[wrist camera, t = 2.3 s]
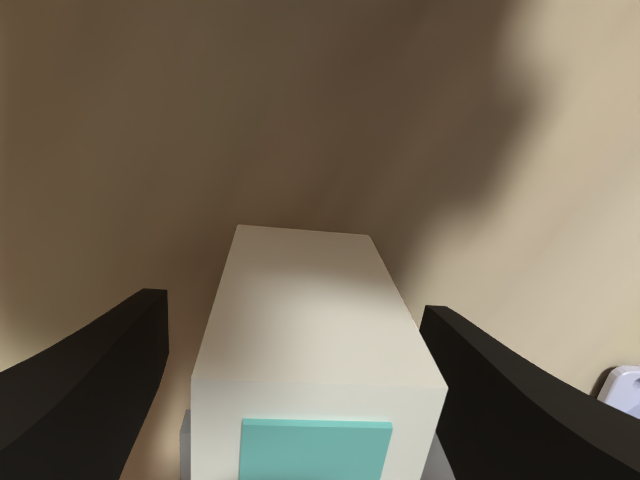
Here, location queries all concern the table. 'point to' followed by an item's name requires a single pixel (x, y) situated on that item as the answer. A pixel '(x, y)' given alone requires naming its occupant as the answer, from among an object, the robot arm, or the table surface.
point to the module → (311, 366)
